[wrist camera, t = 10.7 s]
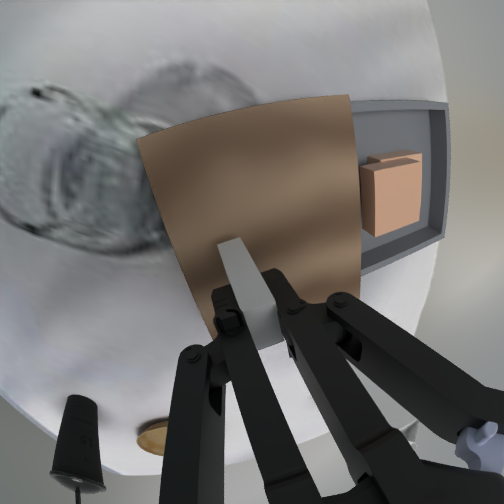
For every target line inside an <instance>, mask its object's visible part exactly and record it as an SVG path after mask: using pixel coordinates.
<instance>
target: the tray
mask: <svg viewBox="0 0 504 504" xmlns="http://www.w3.org/2000/svg"><path fill="white" fill-rule="evenodd" d="M350 104H351V111H352V118H353V125H354V133H355V141H356V150H357V161H358V173H359V187H360V207H361V276H363V275H366V274H368V273H370V272H372V271H375V270H377V269H379V268H381V267H384V266H386V265H388V264H390V263H393V262H395V261H397V260H399V259H401V258H403V257H406V256H408V255H410V254H412V253H414V252H416V251H418V250H420V249H422V248H424V247H426V246H428V245H430V244H432V243H434V242H436V241H438V240H440V239H442V238H444V235H445V228H446V221H447V212H448V201H449V188H450V165H451V161H450V160H451V145H450V144H451V143H450V120H449V107H448V103H443V102H435V101H421V100H371V101H352V102H350ZM402 150H412V151H415V152H419V153H422V189H421V207H420V214H419V221H417V222H415V223H412V224H409V225H407V226H404V227H401V228H399V229H396V230H394V231H391V232H388V233H386V234H383V235H380V236H377V237H374V236H372V235H371V234H369V233H368V232H366V231H365V230H363V229H362V200H361V179H360V166H363V165H368V160H367V156H370V155H376V154H382V153H389V152H395V151H402Z"/></svg>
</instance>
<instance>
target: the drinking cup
mask: <svg viewBox="0 0 504 504" xmlns="http://www.w3.org/2000/svg"><path fill="white" fill-rule="evenodd" d="M50 476H51V477H52V478H53V479H55V480H56V481H57V482H58V483H60V484H61V485H63V486H64V487H66V488H68V489H70V490H72V491H75V497H76V504H81V497H80V493H83V494H95V493H98V492H104V491H106V486H105V485H104V483H103V476H102V469H101V460H100V450H99V437H98V416H97V405H96V404H95V403H94V402H93V401H92V400H90V399H89V398H86V397H84V396H80V395H71V396H69V397H68V399H67V403H66V406H65V410H64V414H63V418H62V422H61V426H60V430H59V435H58V439H57V444H56V449H55V455H54V460H53V466H52V471H50Z"/></svg>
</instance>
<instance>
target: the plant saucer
mask: <svg viewBox="0 0 504 504" xmlns="http://www.w3.org/2000/svg"><path fill="white" fill-rule="evenodd" d="M167 427H168V420H167V421H162V422H158V423H155V424H153V425H151V426H150V427H148V428H147V429H146V430H144V431H143V432H142V433H141V434H140V435H139V437H138V438H137V444H138V446H139V447H140V448H142V449H143V450H145V451H147V452H149V453H152V454H155V455H159V456H164V449H165V441H166V434H167Z"/></svg>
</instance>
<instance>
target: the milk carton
mask: <svg viewBox="0 0 504 504" xmlns="http://www.w3.org/2000/svg"><path fill="white" fill-rule="evenodd" d="M346 360H347V359H346ZM347 361H348V360H347ZM348 363H349V364H350V366H351V367H352V369H353V370H354V372H355V373H356V375H357V376H358V378H359V379H360V381H361V382H362V384H363V385H364V387H365V388H366V390H367V391H368V393H369V394H370V396H371V397H372V399H373V400H374V402H375V403H376V405H377V406H378V408H379V409H380V411H381V412H382V414H383V416H384V417H385V419H386V420H387V422H388V423H389V424H390V426H392V427H394V428H397V429H399V430H400V431H401V432H402V433H403V435H404V436H405V437H406V439H407V440H408V442H409V443H410V445H411V447H412V448H413V450H416V449H417V448H418V446H417V444H416V443H415V438H416V434H417V428H418V422H419V420H418V419H416V418H415V417H414V416H413V415H412V414H410V413H409V412H408V411H407V410H406V409H404V408H403V407H402V406H401V405H400V404H398V403H397V402H396V401H395V400H394V399H392V398H391V397H390V396H389V395H388V394H387V393H385V392H384V391H383V390H382V389H381V388H379V387H378V386H377V385H376V384H375V383H374V382H372V381H371V380H370V379H369V378H368V377H367V376H365V375H364V374H363V373H362V372H361V371H360V370H358V369H357V368H356V367H355V366H354V365H353V364H351V363H350V362H349V361H348Z"/></svg>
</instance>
